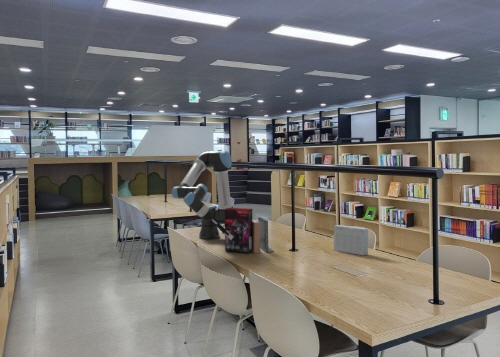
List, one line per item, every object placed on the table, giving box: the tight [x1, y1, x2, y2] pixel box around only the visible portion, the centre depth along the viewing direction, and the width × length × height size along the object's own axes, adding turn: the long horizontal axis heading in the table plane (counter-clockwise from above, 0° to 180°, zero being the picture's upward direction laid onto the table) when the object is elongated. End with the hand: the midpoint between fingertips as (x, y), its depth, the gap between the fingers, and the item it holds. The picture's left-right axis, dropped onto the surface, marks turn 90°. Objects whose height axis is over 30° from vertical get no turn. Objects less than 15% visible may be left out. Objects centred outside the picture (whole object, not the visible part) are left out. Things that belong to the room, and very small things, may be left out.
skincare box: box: [333, 224, 369, 256], centre depth 245 cm, size 21×6×16 cm, turn 47°
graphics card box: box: [224, 207, 253, 254], centre depth 250 cm, size 17×7×27 cm, turn 67°
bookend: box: [257, 216, 275, 253], centre depth 255 cm, size 16×5×20 cm, turn 16°
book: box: [252, 218, 261, 254], centre depth 253 cm, size 13×4×19 cm, turn 16°
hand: (231, 238), depth 248 cm, fingers closed
